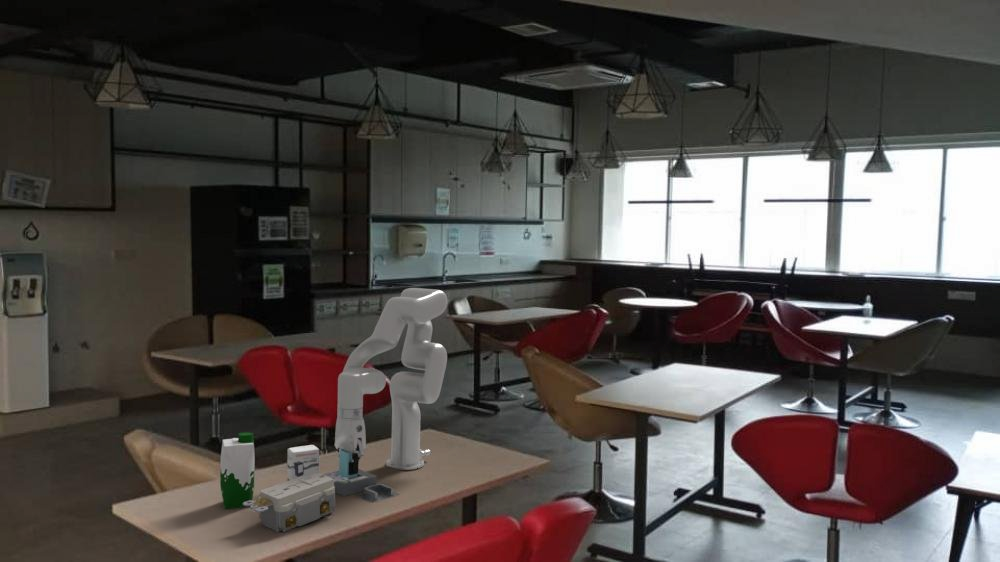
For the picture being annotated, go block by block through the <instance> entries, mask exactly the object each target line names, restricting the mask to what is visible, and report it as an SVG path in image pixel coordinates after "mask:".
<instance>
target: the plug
mask: <svg viewBox="0 0 1000 562" xmlns="http://www.w3.org/2000/svg"><path fill="white" fill-rule="evenodd" d="M355 454H356V453H354V454H353V456H354V455H355ZM338 459H339V460H338V462H339V463H338V471H339V475H340V476H341V477H346V478H348V479H351V478H355V477H357V474H354V475H349V462H350V453H349V452H348V451H346V450H340V455H339V454H338Z"/></svg>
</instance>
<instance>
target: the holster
mask: <svg viewBox="0 0 1000 562" xmlns="http://www.w3.org/2000/svg"><path fill="white" fill-rule="evenodd" d="M356 496H357V497H359V498H361V499H364V500H365V501H368V502H370V503H376V502H377V503H378V502H380V501H384V500H387V499H390V498H394V497H397V496H401V495H400V494H399V493H397V492H394V488H393V487H391V486H389V485H386V484H383V483H377V484H376V485H372V486H368V487H365V488H363V491H362V493H361V494H356Z"/></svg>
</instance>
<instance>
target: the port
mask: <svg viewBox="0 0 1000 562" xmlns="http://www.w3.org/2000/svg"><path fill="white" fill-rule="evenodd" d="M332 472H333V473H335V475H339V470H336V471H331V472H330V473H332ZM324 474H325V473H324ZM324 474H322V475H324ZM377 481H378V476H377V475H375V474H373V473H370V472H368V471H364V470H363V469H360V468H358V473H357V477H355V478H351V479H348V481H345V482H338V481H337V482H334V487H335V494H338V495H340V496H342V497H346V496H349V495H350V496H351V495H353V494H357V493H361V492H363V488H365V487H368V486H372V485H376V484H378V482H377Z"/></svg>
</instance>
